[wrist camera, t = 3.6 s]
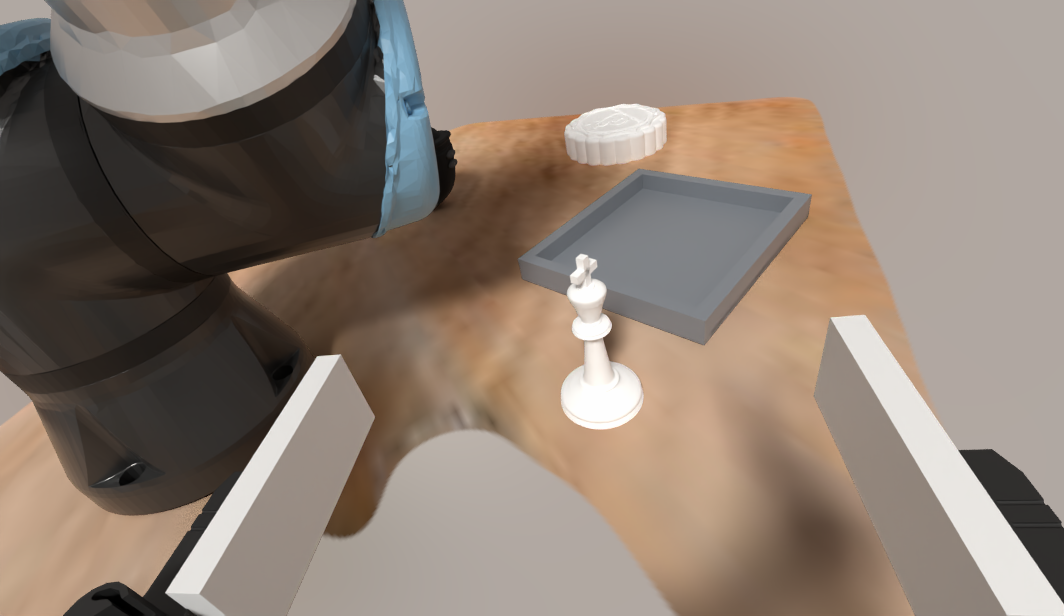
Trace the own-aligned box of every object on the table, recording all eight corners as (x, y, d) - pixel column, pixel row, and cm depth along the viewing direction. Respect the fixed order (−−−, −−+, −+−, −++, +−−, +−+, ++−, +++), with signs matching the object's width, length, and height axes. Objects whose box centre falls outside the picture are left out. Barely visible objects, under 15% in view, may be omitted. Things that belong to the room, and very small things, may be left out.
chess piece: (544, 408, 30) (511, 271, 24) (590, 357, 33) (569, 223, 27) (615, 443, 27) (596, 298, 21) (658, 385, 30) (653, 241, 24)
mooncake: (553, 147, 65) (548, 119, 63) (635, 122, 67) (634, 94, 65) (592, 177, 56) (588, 145, 54) (687, 146, 58) (687, 114, 56)
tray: (522, 279, 42) (517, 259, 40) (639, 187, 51) (638, 168, 50) (704, 345, 32) (705, 321, 31) (808, 216, 41) (811, 194, 40)
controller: (460, 215, 54) (432, 121, 48) (362, 219, 57) (325, 132, 51) (474, 196, 57) (449, 106, 51) (380, 201, 61) (348, 118, 55)
